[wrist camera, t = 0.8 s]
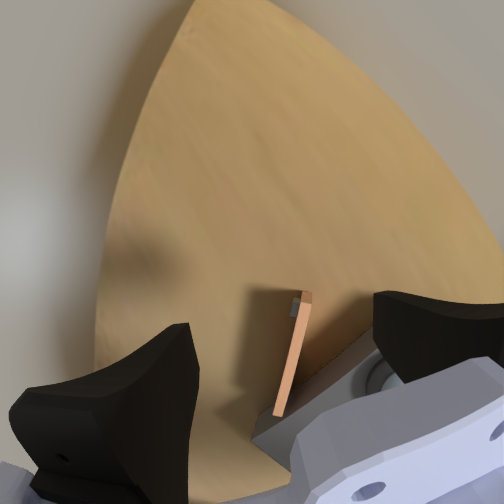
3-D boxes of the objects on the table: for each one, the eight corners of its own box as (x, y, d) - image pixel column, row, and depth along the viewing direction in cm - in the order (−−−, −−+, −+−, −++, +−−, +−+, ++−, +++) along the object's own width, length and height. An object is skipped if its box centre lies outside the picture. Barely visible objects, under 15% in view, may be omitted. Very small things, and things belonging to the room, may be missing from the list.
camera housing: (446, 348, 24) (472, 373, 18) (307, 455, 27) (303, 492, 21) (404, 295, 24) (427, 311, 18) (259, 414, 28) (246, 450, 22)
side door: (311, 292, 26) (311, 304, 22) (286, 393, 27) (282, 416, 23) (295, 289, 26) (292, 300, 22) (272, 390, 27) (265, 413, 23)
